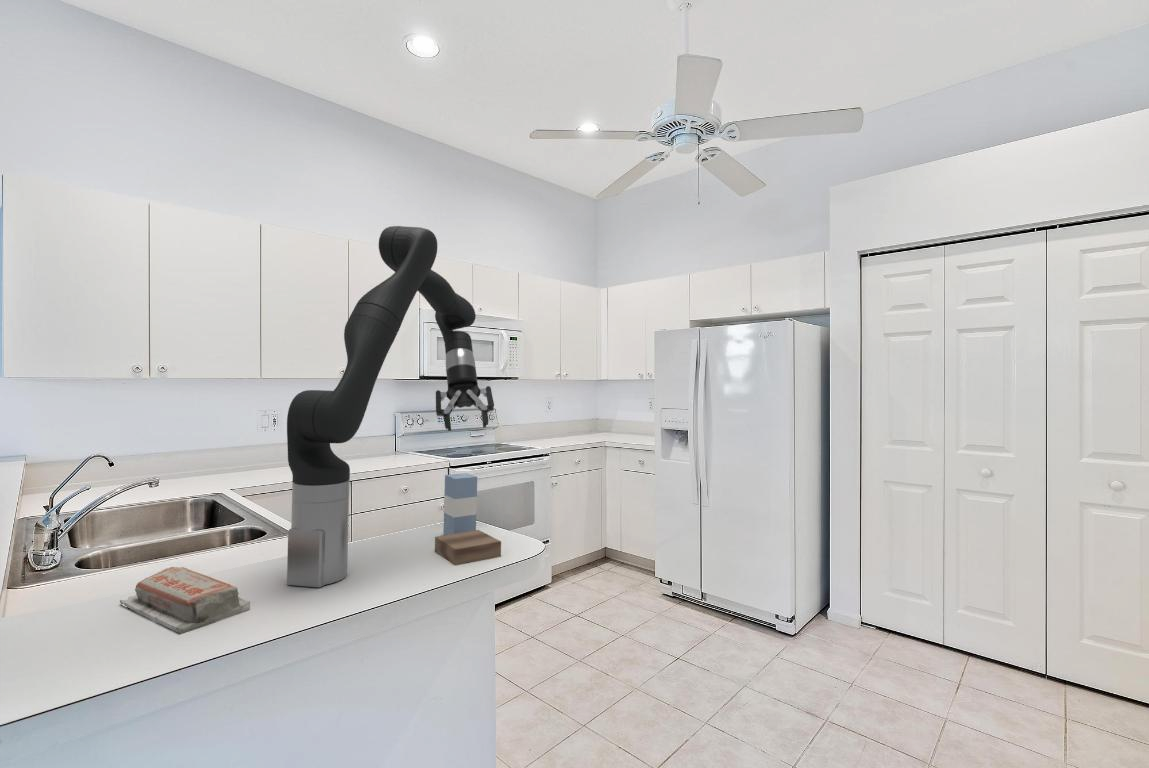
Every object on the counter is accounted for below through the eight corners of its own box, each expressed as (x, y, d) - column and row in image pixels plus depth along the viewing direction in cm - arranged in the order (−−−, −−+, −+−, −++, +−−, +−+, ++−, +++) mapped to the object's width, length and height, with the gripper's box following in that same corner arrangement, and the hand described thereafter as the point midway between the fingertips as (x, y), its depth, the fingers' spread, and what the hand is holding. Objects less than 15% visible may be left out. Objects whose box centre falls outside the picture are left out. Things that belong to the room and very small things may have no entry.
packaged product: (253, 580, 83) (180, 603, 74) (252, 611, 83) (179, 638, 74) (190, 558, 92) (119, 576, 83) (190, 587, 92) (118, 608, 83)
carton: (476, 538, 123) (477, 476, 122) (453, 542, 119) (455, 478, 119) (465, 532, 127) (466, 473, 127) (443, 536, 124) (444, 475, 124)
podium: (500, 556, 111) (501, 541, 111) (455, 565, 105) (455, 549, 105) (478, 543, 119) (478, 529, 119) (434, 551, 113) (435, 536, 113)
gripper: (432, 365, 135) (437, 425, 129) (489, 361, 139) (497, 419, 132) (433, 378, 142) (438, 436, 135) (488, 374, 145) (495, 430, 139)
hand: (467, 428), depth 134 cm, fingers open, 8 cm apart
